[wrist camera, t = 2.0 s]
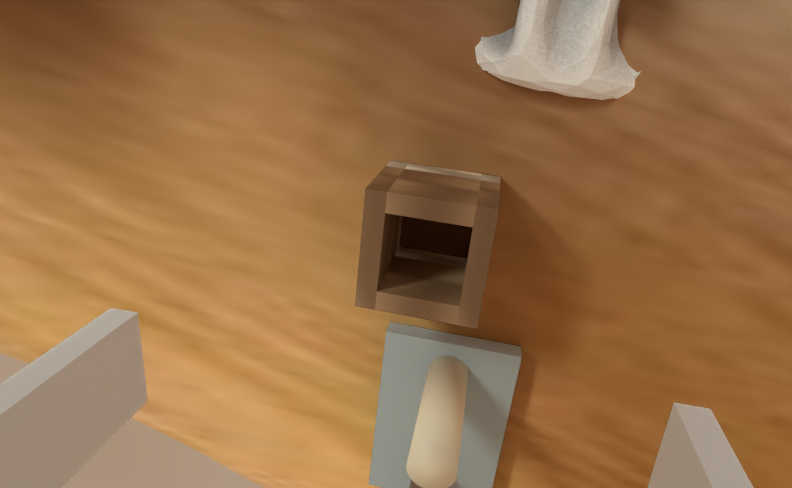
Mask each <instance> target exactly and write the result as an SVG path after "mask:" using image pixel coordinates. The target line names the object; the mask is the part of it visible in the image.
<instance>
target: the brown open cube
mask: <svg viewBox="0 0 792 488" xmlns="http://www.w3.org/2000/svg"><path fill="white" fill-rule="evenodd" d="M500 179H501V177H500V176H493V175H486V174H480V173H473V172H466V171H460V170H453V169H446V168H439V167H433V166H426V165H419V164H413V163H406V162H399V161H393V160H391V161H390V162H389V163H388V164H387V165H386V166H385V168H384V169H383V170H382V171H381V172H380V173H379V174H378V175H377V176H376V178H375V179H374V180H373V181H372V182H371V183H370V184H369V185H368V186H367V188H366V189H365V200H364V212H363V223H362V234H361V245H360V256H359V268H358V279H357V290H356V301H355V306H357V307H363V308H368V309H374V310H379V311H384V312H390V313H395V314H400V315H406V316H411V317H416V318H422V319H427V320H432V321H438V322H443V323H449V324H454V325H459V326H465V327H470V328H475V329H477V327H478V322H479V316H480V311H481V306H482V300H483V295H484V290H485V284H486V279H487V274H488V268H489V263H490V258H491V252H492V247H493V241H494V236H495V231H496V225H497V220H498V215H499V208H500ZM403 216H406V217H412V218H418V219H424V220H430V221H437V222H443V223H449V224H455V225H461V226H467V227H473V229H472V235H471V241H470V247H469V253H468V259H467V258H461V257H455V256H449V255H443V254H437V253H431V252H426V251H420V250H414V249H408V248H402V247H399V243H400V235H401V226H402V218H403Z"/></svg>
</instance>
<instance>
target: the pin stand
mask: <svg viewBox="0 0 792 488" xmlns="http://www.w3.org/2000/svg"><path fill="white" fill-rule="evenodd" d="M521 359H522V351H521V346H516V345H511V344H505V343H500V342H495V341H489V340H484V339H479V338H474V337H468V336H463V335H458V334H452V333H447V332H442V331H436V330H431V329H426V328H421V327H415V326H410V325H405V324H399V323H394V322H390V324H389V326H388V329H387V331H386V339H385V348H384V356H383V365H382V373H381V382H380V391H379V399H378V408H377V417H376V425H375V434H374V443H373V451H372V460H371V469H370V477H369V484H370V485H374V486H378V487H383V488H492V487H493V482H494V478H495V473H496V469H497V465H498V460H499V456H500V451H501V447H502V443H503V438H504V434H505V429H506V425H507V421H508V416H509V412H510V407H511V403H512V399H513V394H514V390H515V385H516V381H517V377H518V372H519V368H520V363H521Z"/></svg>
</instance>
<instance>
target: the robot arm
mask: <svg viewBox="0 0 792 488" xmlns="http://www.w3.org/2000/svg"><path fill="white" fill-rule="evenodd" d="M147 401H148V399H147V391H146V382H145V373H144V364H143V355H142V346H141V337H140V328H139V320H138V312H132V311H126V310H120V309H114V308H110V309H109V310H107V311H106V312H104V313H103V314H101V315H100V316H99V317H97V318H96V319H94V320H93V321H91V322H90V323H88V324H87V325H85V326H84V327H82V328H81V329H79V330H78V331H77V332H75V333H74V334H72V335H71V336H69V337H68V338H66V339H65V340H63V341H62V342H60V343H59V344H58V345H56V346H55V347H53V348H52V349H50V350H49V351H47V352H46V353H44V354H43V355H41V356H40V357H38V358H37V359H36V360H34V361H33V362H31V363H30V364H28V365H27V366H25V367H24V368H22V369H21V370H19V371H18V372H16V373H15V374H14V375H12V376H11V377H9V378H8V379H6V380H5V381H3V382H2V383H1V384H0V488H61V487H62V486H63V485H64V484H65V483H66V482H67V481H68V480H69V479H70V478H71V477H72V476H73V475H74V474H75V473H76V472H77V471H78V470H79V469H80V468H81V467H82V466H83V465H84V464H85V463H86V462H87V461H88V460H89V459H90V458H91V457H92V456H93V455H94V454H95V453H96V452H97V451H98V450H99V449H100V448H101V447H102V446H103V445H104V444H105V443H106V442H107V441H108V440H109V439H110V438H111V437H112V436H113V435H114V434H115V433H116V432H117V431H118V430H119V429H120V428H121V427H122V426H123V425H124V424H125V423H126V422H127V421H128V420H129V419H130V418H131V417H132V416H133V415H134V414H135V413H136V412H137V411H138V410H139V409H140V408H141V407H142V406H143V405H144V404H145V403H146V402H147ZM647 488H754V487H753V486H752V484H751V482H750V480H749V478H748V476H747V475H746V473H745V471H744V469H743V467H742V465H741V464H740V462H739V460H738V458H737V456H736V454H735V453H734V451H733V449H732V447H731V445H730V443H729V442H728V440H727V438H726V436H725V434H724V432H723V431H722V429H721V427H720V425H719V423H718V421H717V420H716V418H715V416H714V414H713V412H712V410H711V409H710V408H704V407H698V406H692V405H686V404H680V403H674V404H673V407H672V410H671V413H670V417H669V420H668V423H667V426H666V429H665V433H664V436H663V439H662V442H661V445H660V449H659V452H658V455H657V458H656V462H655V465H654V468H653V471H652V474H651V478H650V481H649V484H648V487H647Z"/></svg>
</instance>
